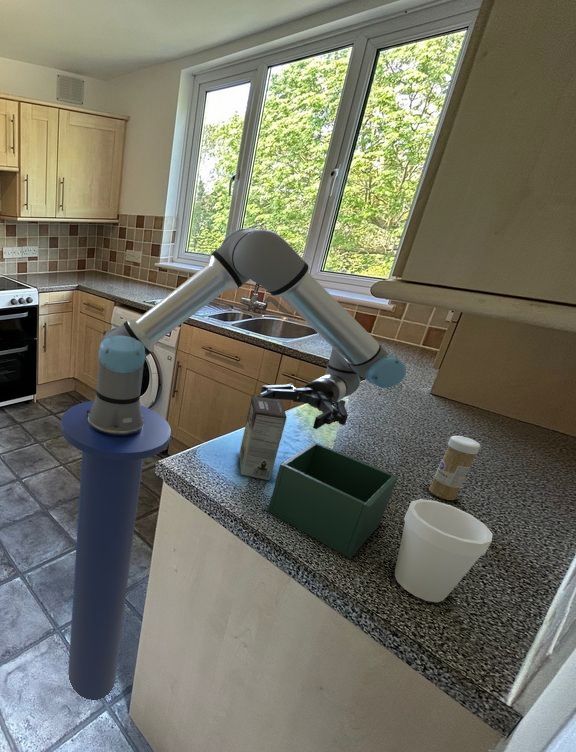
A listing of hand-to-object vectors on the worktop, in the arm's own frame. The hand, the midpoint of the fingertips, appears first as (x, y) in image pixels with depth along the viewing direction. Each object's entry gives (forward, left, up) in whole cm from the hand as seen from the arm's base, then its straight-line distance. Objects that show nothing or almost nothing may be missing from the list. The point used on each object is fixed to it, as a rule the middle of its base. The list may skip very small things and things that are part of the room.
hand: (285, 411), depth 96 cm
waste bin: (+17, -15, -12) cm, 25 cm away
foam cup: (+33, -19, -12) cm, 40 cm away
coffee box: (0, -10, -12) cm, 15 cm away
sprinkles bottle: (+29, +15, -12) cm, 35 cm away
